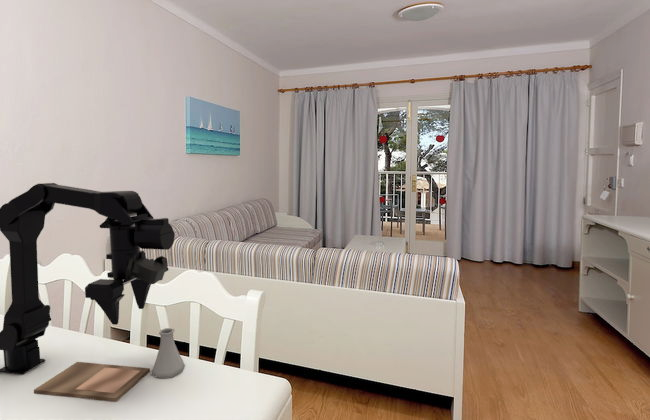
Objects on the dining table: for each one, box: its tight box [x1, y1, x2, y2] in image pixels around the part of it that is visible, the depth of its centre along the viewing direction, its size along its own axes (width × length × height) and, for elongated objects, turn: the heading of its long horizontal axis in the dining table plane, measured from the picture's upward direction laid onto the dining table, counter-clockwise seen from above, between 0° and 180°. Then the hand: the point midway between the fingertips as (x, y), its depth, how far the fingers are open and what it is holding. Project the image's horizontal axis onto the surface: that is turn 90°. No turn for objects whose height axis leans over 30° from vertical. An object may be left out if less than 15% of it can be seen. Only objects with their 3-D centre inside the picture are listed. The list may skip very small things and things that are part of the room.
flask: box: [150, 327, 186, 379], centre depth 91 cm, size 7×7×10 cm
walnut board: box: [33, 361, 151, 403], centre depth 86 cm, size 19×12×1 cm, turn 82°
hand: (128, 316), depth 87 cm, fingers open, 9 cm apart
